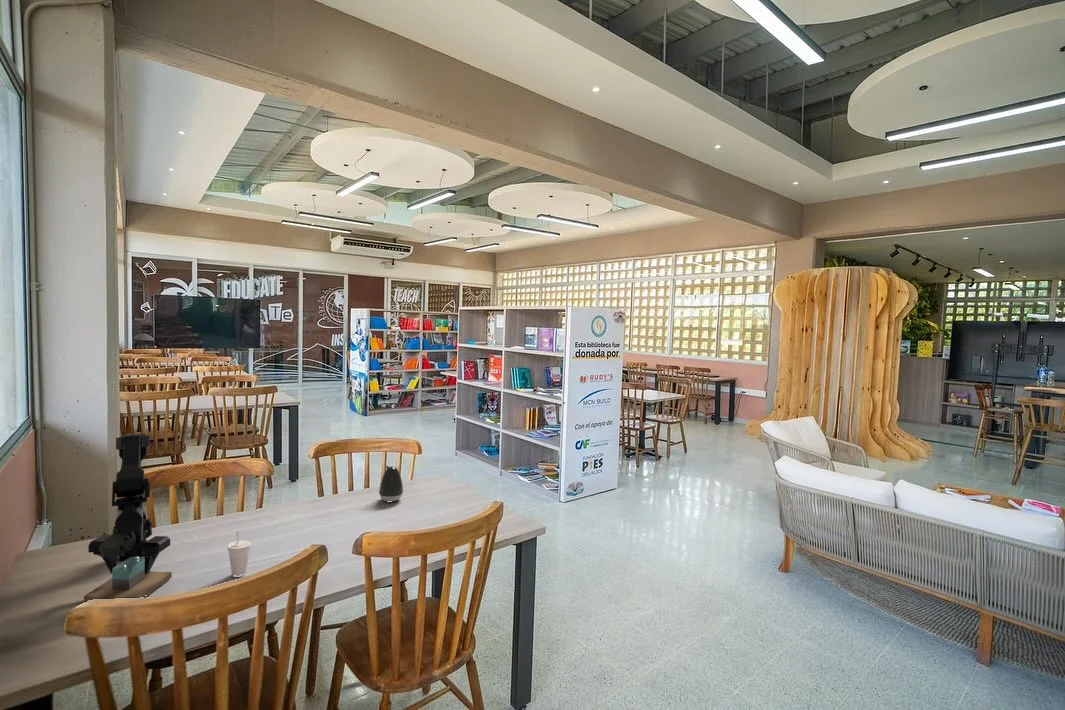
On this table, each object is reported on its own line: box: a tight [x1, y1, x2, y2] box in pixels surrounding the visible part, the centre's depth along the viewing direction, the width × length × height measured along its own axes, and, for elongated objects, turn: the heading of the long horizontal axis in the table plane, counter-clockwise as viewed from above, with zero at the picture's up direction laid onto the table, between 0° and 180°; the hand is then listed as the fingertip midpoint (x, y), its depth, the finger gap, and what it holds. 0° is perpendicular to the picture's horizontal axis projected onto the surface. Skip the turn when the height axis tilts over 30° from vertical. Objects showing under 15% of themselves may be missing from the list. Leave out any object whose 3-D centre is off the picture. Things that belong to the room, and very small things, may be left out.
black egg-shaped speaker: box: [378, 465, 404, 502], centre depth 226 cm, size 10×10×15 cm
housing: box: [111, 556, 147, 590], centre depth 145 cm, size 7×4×6 cm, turn 3°
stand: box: [83, 570, 173, 603], centre depth 145 cm, size 14×14×2 cm
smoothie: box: [226, 530, 252, 578], centre depth 157 cm, size 6×6×14 cm
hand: (130, 573), depth 145 cm, fingers open, 9 cm apart
